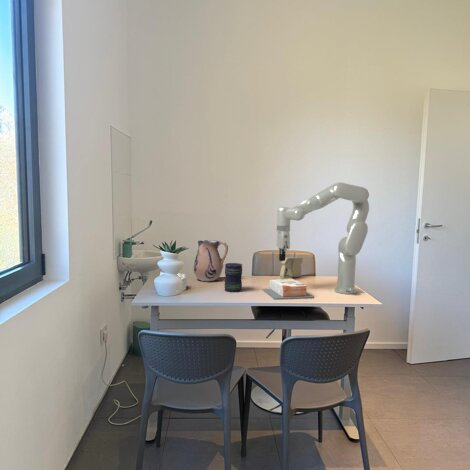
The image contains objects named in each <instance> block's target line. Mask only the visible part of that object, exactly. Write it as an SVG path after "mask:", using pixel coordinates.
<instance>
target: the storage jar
mask: <svg viewBox="0 0 470 470" xmlns="http://www.w3.org/2000/svg"><path fill="white" fill-rule="evenodd" d="M224 275H225V276H224V277H225V278H224V292H226V293H240V292H242V288H243V287H242V286H243V284H242V283H243V282H242V281H243V280H242V276H243V263H239V262H229V263H225V264H224Z"/></svg>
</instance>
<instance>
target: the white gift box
mask: <svg viewBox="0 0 470 470" xmlns="http://www.w3.org/2000/svg"><path fill="white" fill-rule="evenodd" d="M177 275H178V276H179V277H181V279H182V282H183V283H182V289H181V290H179V291H176V292H175V293H179V292H180V293H181V292H184V291H186V290H187V275H186V274H185V273H180V272H179V273H178V274H177Z"/></svg>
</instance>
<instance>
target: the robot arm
mask: <svg viewBox="0 0 470 470" xmlns="http://www.w3.org/2000/svg"><path fill="white" fill-rule="evenodd" d="M369 196H370V192H369V190H368V189H367V188H366V187H364V186H358V185H354V184H350V183H345V182H336V183H333V184H331V185H329V186H327V187H326V188H324V189H322V190H320V191H319V192H318V193H315V194H313V195H312V196H310V197H309V198H307V199H305V200H303V201H302V202H300V203H298V204H296V205H295V206H293V207H288V206H287V207H286V206H279V207H277V211H276V232H277V234H276V247H277V249H278V253H279V254H278V261H280V262H282V261H285V258H286V255H287V254H286V253H287V251H288V250H290V248H291V236H290V232H291V220H292V221H302V220H303V219H304V218H305V216H306V215H308V214H309V213H312V212H314V211H317V210H319V209H323V208H325V207H327V206H328V205H330V204H332V203H333V202H335V201H336V200H338V199H341V200H346V201H350V202H352V206H353V209H352V212H351V215H350V217H349V220H348V222H347V225H346V232H347V233H348V234H347V236H345V237H342V238H341V239H340V240H339V242H338V244H337V245H338V246H337V247H338V249H337V250H338V261H337V262H338V263H337V264H338V266H337V282H336V283H337V287H334V289H333V290H334V292H336V293H339V294H344V295H352V294H353V295H354V294H357V293H358V290H357V289H356V288H355V282H356V280H355V279H356V263H357V262H356V261H357V260H356V259H357V255H358V254H359V253H360V252H361V250H362V248H363V245H364V242H365V241H366V237H367V235H368V231H369V228H368V224H367V223H366V221H367V218H368V215H369V211H370V205H369V204H370V203H369V200H368V199H369Z"/></svg>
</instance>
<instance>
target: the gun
mask: <svg viewBox="0 0 470 470" xmlns="http://www.w3.org/2000/svg"><path fill="white" fill-rule="evenodd" d="M303 261H304V260H303V257H300V256H299V257H298V256H297V257H291V256H290V257H285V261H280V263H281V268H280V273H279V279H285V278H292V279H293V278H300V277H302V267H301V266H302V264H303ZM288 272H289V274H288ZM287 274H288V275H287Z"/></svg>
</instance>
